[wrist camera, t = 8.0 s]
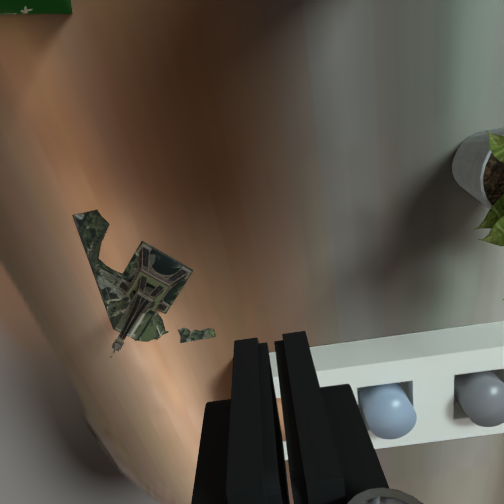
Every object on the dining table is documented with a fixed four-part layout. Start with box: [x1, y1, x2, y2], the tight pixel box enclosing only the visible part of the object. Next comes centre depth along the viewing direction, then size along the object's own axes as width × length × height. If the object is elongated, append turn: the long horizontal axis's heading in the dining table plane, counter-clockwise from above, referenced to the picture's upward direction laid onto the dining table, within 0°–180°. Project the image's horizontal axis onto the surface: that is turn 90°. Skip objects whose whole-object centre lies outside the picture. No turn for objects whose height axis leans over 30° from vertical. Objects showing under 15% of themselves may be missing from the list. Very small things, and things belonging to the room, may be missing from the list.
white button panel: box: [269, 321, 504, 460], centre depth 40 cm, size 28×10×4 cm, turn 99°
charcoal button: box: [454, 370, 504, 427], centre depth 38 cm, size 4×4×3 cm
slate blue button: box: [359, 382, 417, 439], centre depth 38 cm, size 4×4×3 cm
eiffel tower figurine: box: [73, 210, 215, 358], centre depth 32 cm, size 15×10×13 cm
